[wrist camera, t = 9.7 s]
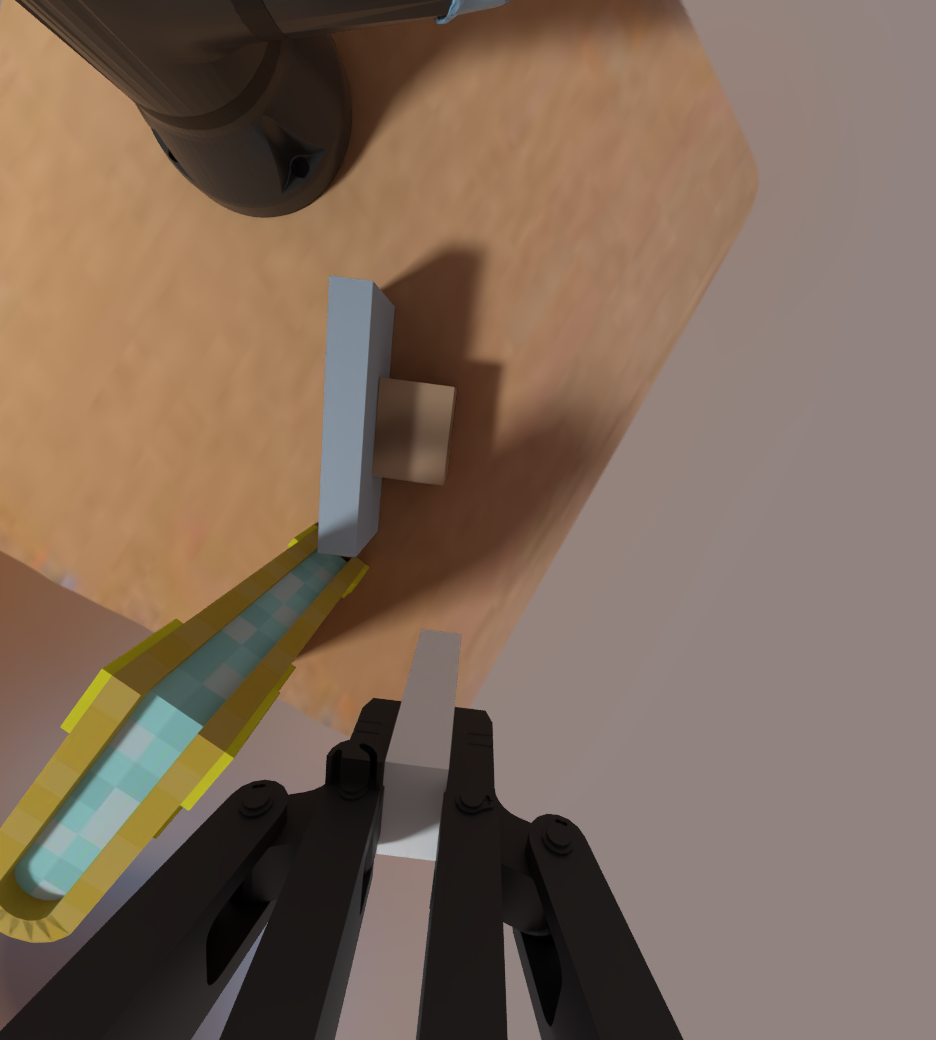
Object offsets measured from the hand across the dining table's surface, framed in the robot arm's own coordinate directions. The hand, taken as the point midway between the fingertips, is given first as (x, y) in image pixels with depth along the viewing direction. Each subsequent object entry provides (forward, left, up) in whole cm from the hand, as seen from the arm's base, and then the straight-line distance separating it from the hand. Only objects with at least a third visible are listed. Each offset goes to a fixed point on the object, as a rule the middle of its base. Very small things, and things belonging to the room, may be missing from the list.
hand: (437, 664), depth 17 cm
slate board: (-7, -10, -26) cm, 29 cm away
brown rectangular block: (-7, -5, -27) cm, 28 cm away
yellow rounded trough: (+12, -16, -27) cm, 33 cm away
